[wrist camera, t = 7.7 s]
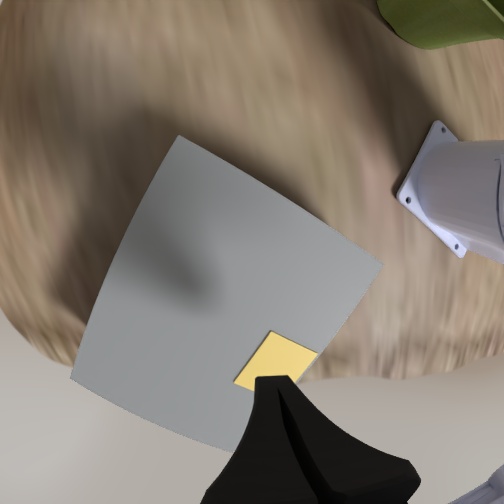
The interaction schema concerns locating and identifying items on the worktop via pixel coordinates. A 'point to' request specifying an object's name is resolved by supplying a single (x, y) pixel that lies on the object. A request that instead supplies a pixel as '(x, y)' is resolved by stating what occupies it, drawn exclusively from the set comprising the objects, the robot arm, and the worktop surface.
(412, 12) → the plant pot
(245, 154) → the worktop surface
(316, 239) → the lid
